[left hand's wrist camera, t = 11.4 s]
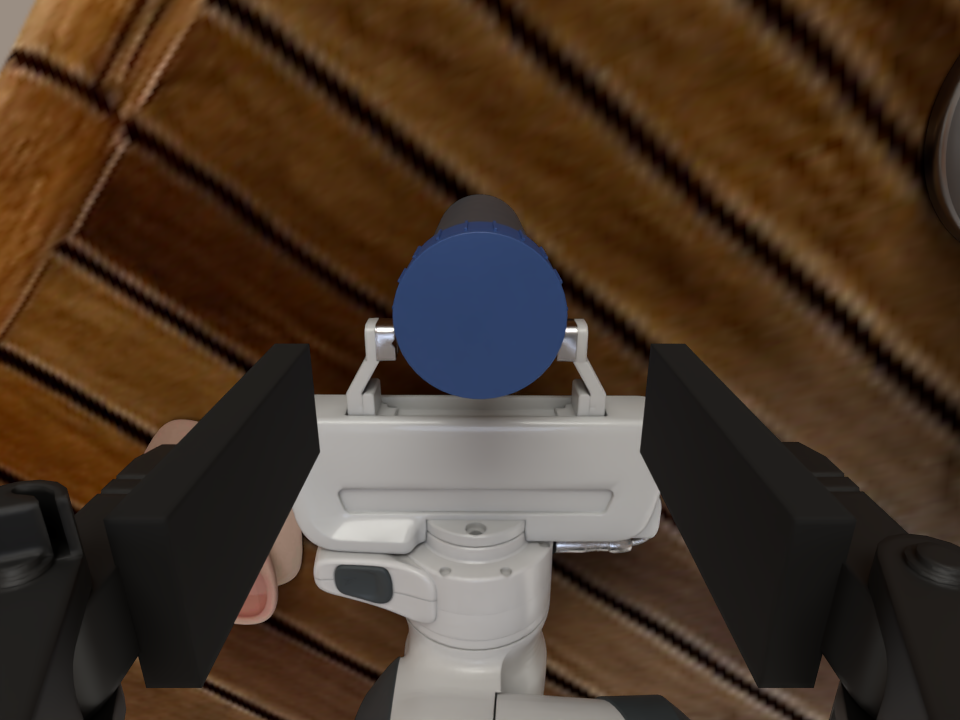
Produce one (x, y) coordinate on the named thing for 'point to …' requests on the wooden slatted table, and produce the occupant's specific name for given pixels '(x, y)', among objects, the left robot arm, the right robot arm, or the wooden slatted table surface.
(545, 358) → the lid
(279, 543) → the anatomical model
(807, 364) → the wooden slatted table surface
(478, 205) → the grey bottle
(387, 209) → the wooden slatted table surface
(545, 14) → the wooden slatted table surface
